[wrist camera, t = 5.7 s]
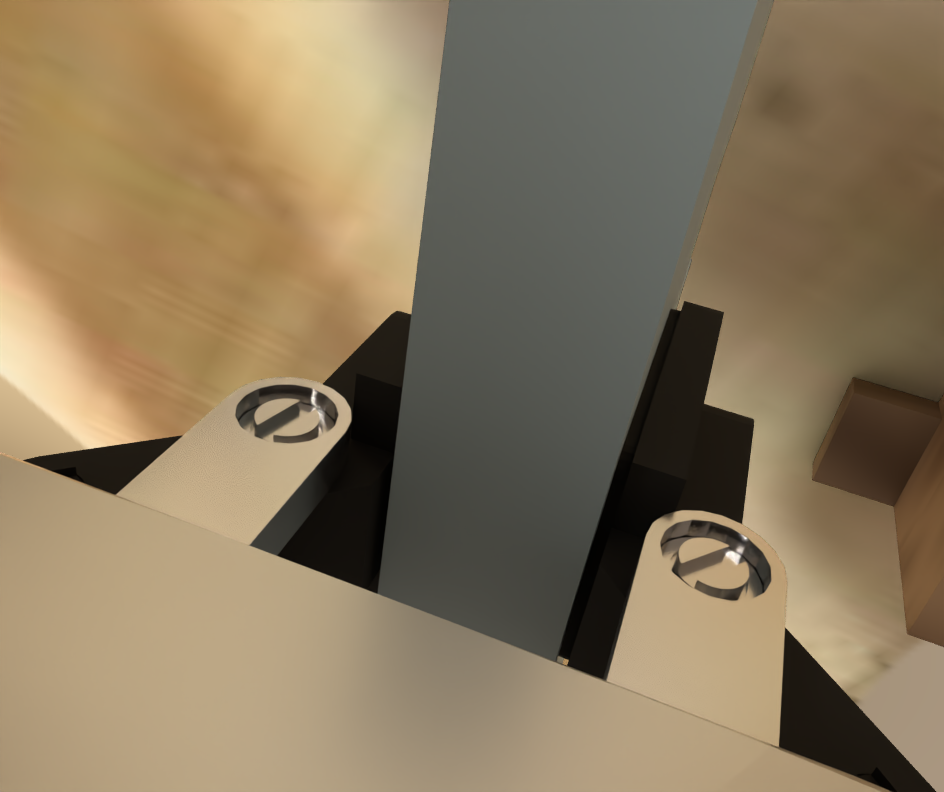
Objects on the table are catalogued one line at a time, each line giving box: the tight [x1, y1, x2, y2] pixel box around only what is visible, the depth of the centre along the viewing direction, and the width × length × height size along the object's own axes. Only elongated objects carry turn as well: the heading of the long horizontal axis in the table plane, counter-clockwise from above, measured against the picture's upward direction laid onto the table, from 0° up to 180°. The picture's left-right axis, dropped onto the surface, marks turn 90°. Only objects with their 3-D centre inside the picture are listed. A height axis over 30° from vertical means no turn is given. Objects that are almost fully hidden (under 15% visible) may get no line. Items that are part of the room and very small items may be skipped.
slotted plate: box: [378, 0, 774, 664], centre depth 14 cm, size 18×2×14 cm, turn 171°
